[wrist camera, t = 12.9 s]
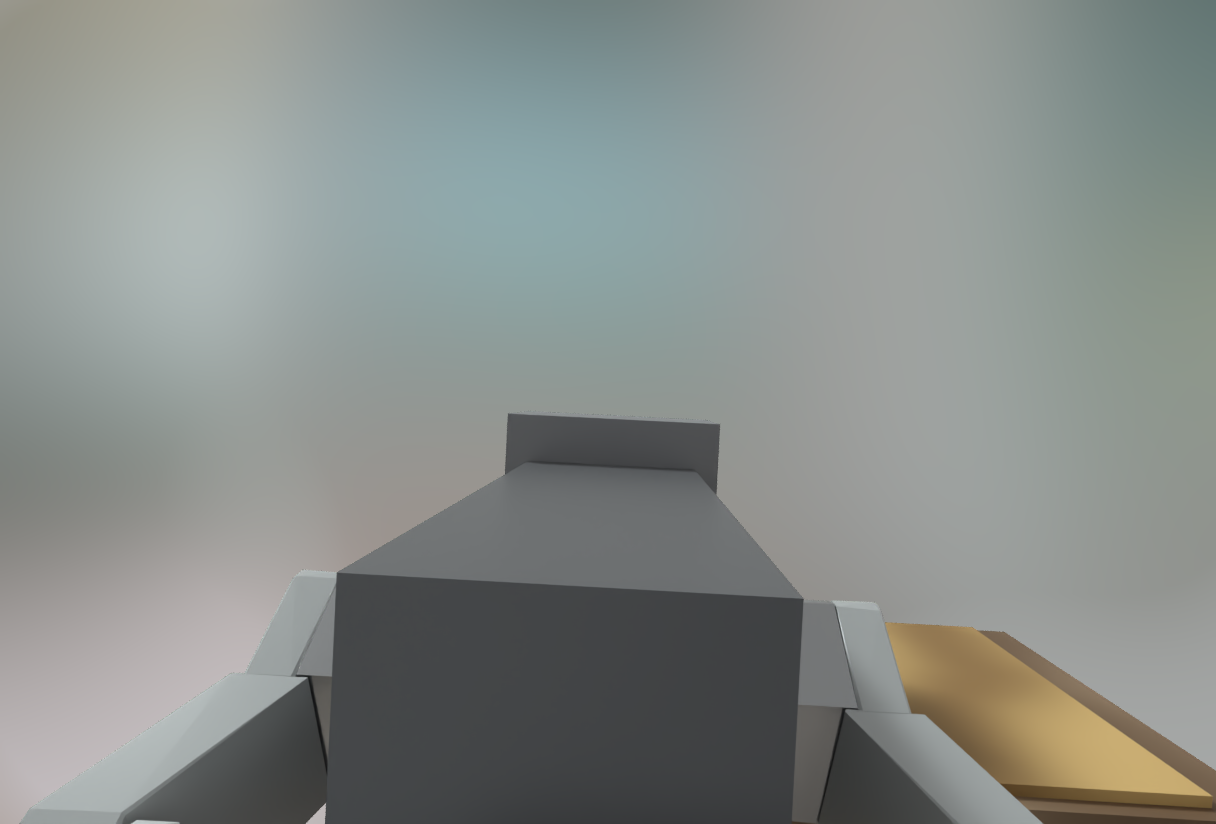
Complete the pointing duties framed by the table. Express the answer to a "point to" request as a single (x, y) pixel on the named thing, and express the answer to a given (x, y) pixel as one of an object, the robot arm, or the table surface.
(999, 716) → the panel block
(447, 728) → the dark grey square bar
